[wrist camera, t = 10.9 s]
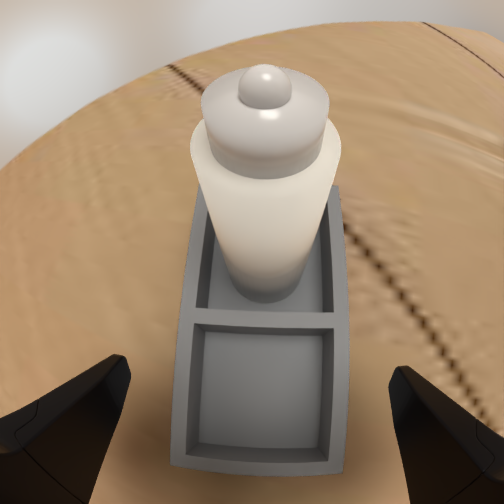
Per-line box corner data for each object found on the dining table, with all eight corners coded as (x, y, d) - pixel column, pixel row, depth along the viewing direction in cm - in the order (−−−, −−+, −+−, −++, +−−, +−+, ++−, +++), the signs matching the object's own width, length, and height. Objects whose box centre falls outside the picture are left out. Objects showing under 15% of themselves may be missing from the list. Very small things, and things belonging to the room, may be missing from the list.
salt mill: (280, 316, 17) (319, 155, 5) (215, 281, 18) (133, 98, 6) (314, 254, 19) (375, 61, 6) (252, 224, 20) (235, 27, 7)
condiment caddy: (326, 454, 14) (342, 473, 11) (189, 447, 15) (170, 465, 11) (326, 218, 21) (338, 185, 17) (209, 214, 21) (199, 182, 18)
